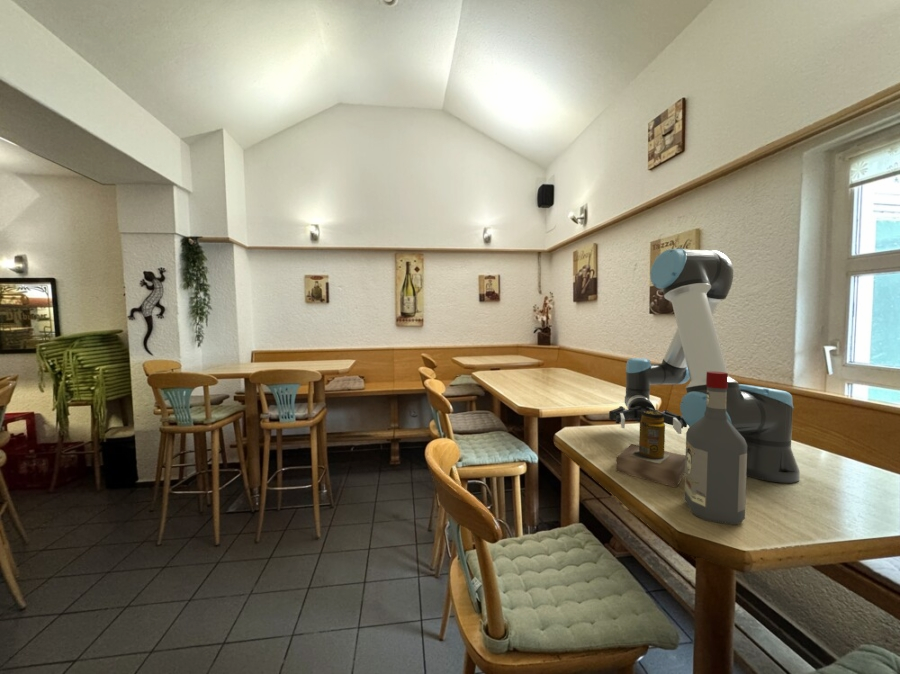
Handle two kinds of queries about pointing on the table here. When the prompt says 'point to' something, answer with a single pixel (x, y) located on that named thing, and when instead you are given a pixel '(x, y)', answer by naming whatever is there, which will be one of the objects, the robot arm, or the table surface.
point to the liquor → (716, 460)
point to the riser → (652, 467)
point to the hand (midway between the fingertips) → (650, 426)
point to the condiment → (651, 437)
